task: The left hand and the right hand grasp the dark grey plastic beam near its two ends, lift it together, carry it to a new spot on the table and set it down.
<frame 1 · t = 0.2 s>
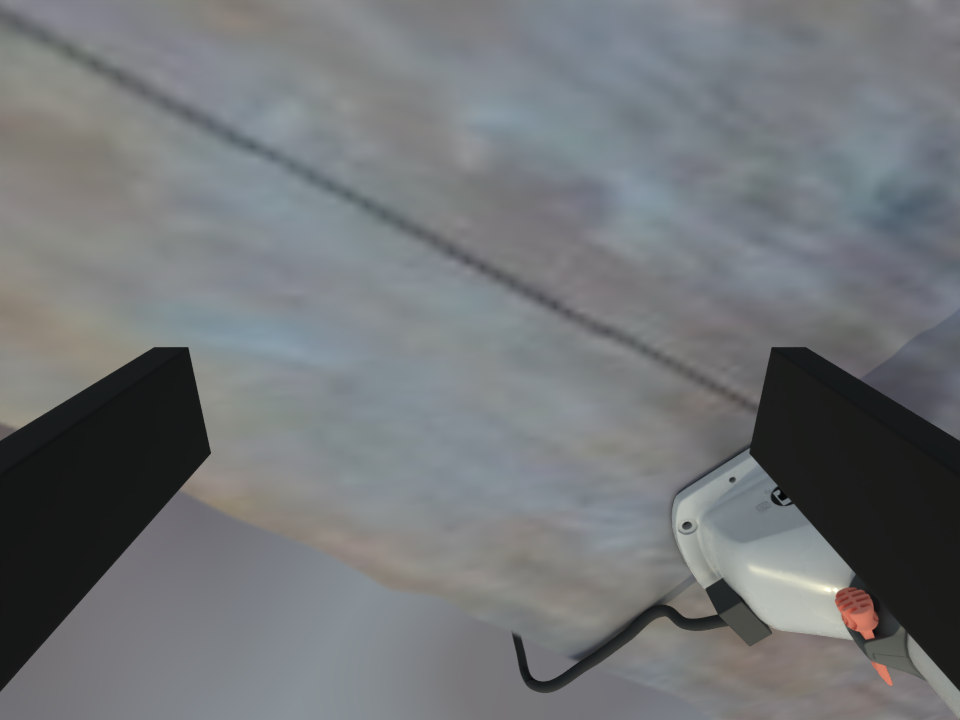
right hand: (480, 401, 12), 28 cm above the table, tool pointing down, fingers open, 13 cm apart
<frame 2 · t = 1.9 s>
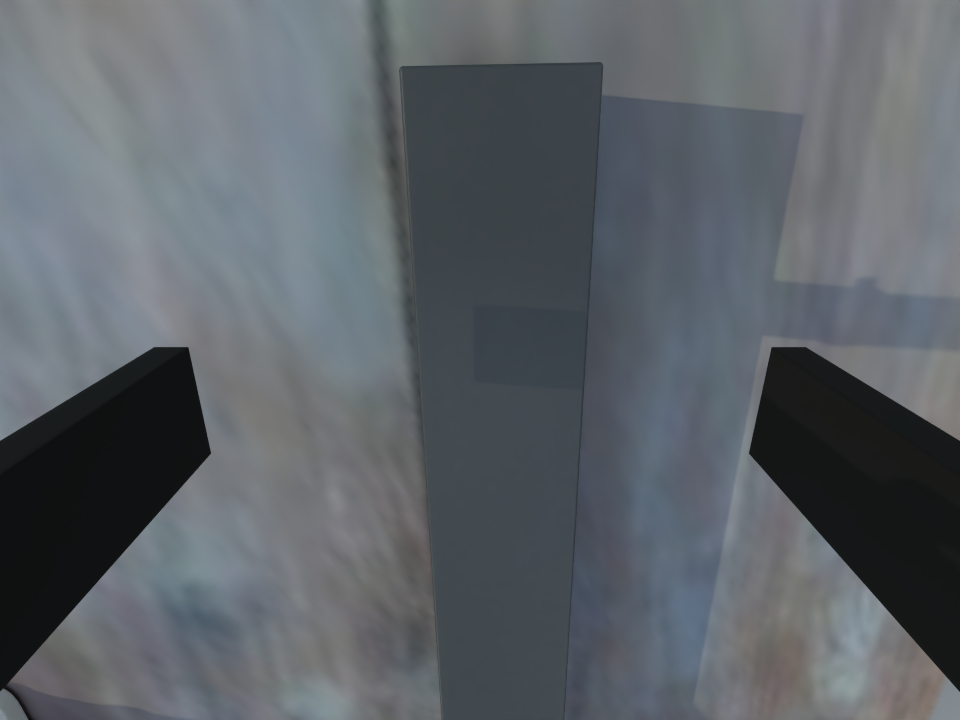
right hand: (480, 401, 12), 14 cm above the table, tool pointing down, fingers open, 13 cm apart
beam: (498, 694, 35), on the table
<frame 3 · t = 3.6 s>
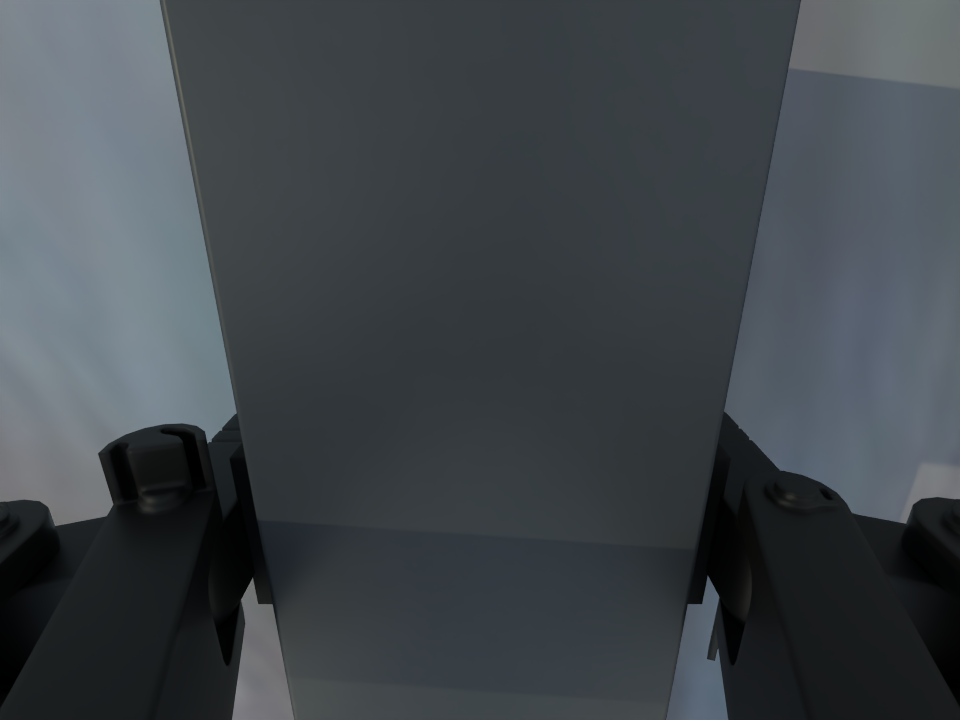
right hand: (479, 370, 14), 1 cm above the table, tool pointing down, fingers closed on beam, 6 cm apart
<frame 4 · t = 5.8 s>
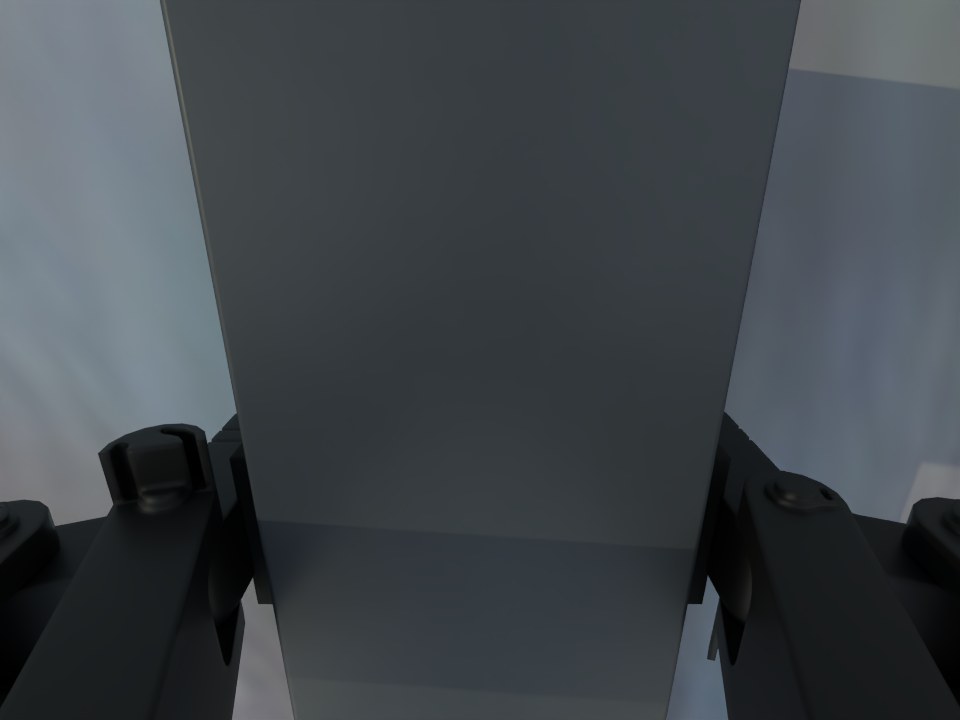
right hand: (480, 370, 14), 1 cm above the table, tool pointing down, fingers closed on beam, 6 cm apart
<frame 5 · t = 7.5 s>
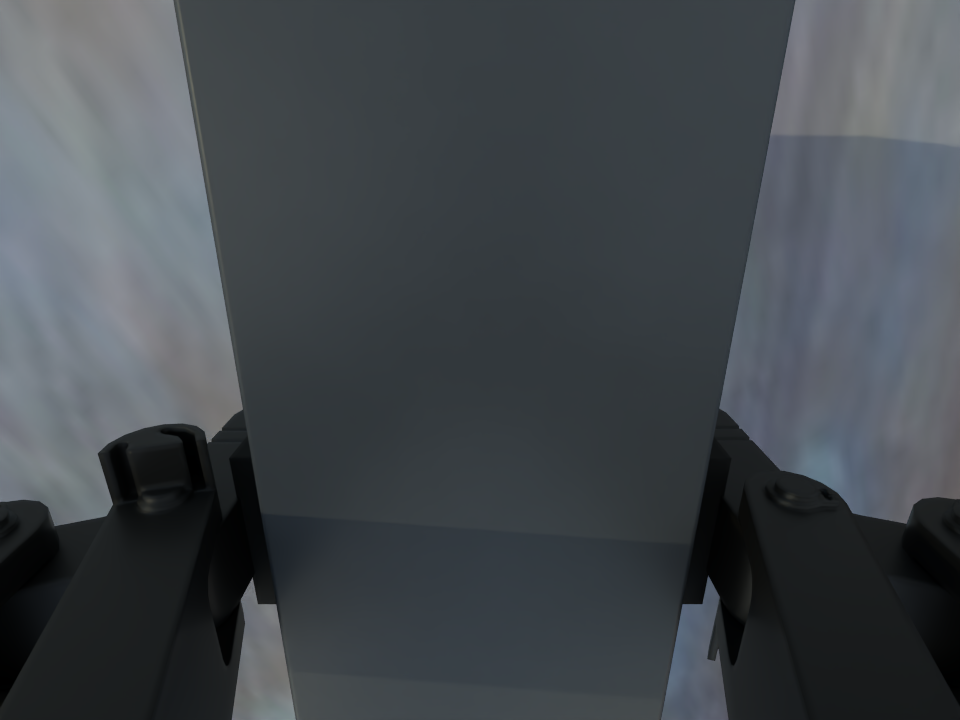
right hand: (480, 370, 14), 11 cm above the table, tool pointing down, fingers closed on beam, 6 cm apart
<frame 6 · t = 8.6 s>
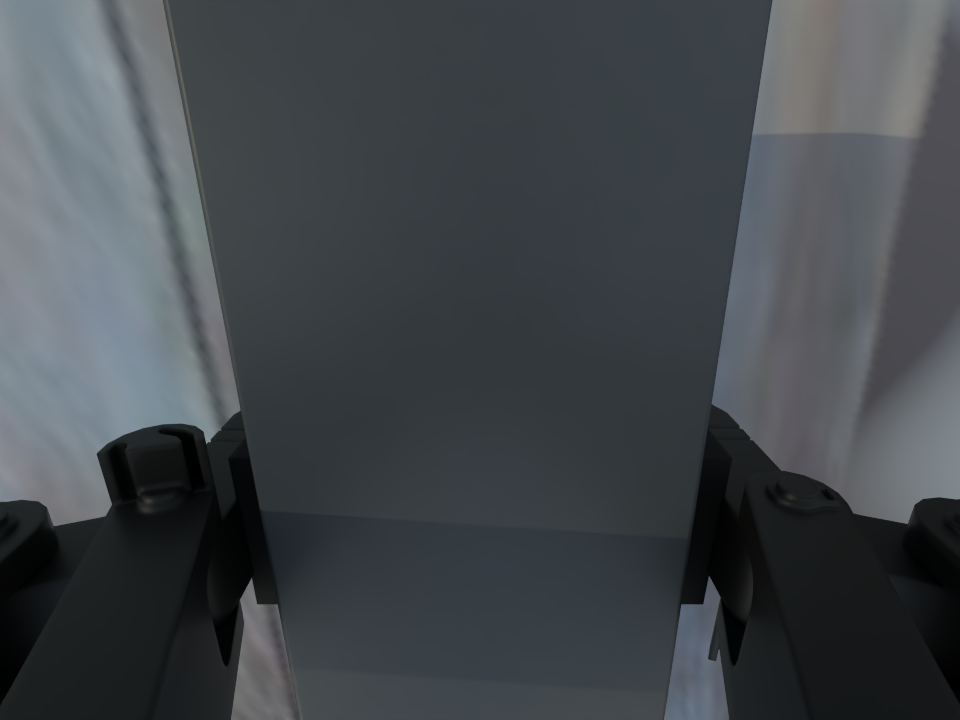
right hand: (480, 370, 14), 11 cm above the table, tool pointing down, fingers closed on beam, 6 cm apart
when the right hand's fingers open (2 cm above the table, at t = 11.3 s): beam stays where it is, on the table.
when the left hand's fingers open (4 cm above the table, at t = 11.5 s): beam stays where it is, on the table.
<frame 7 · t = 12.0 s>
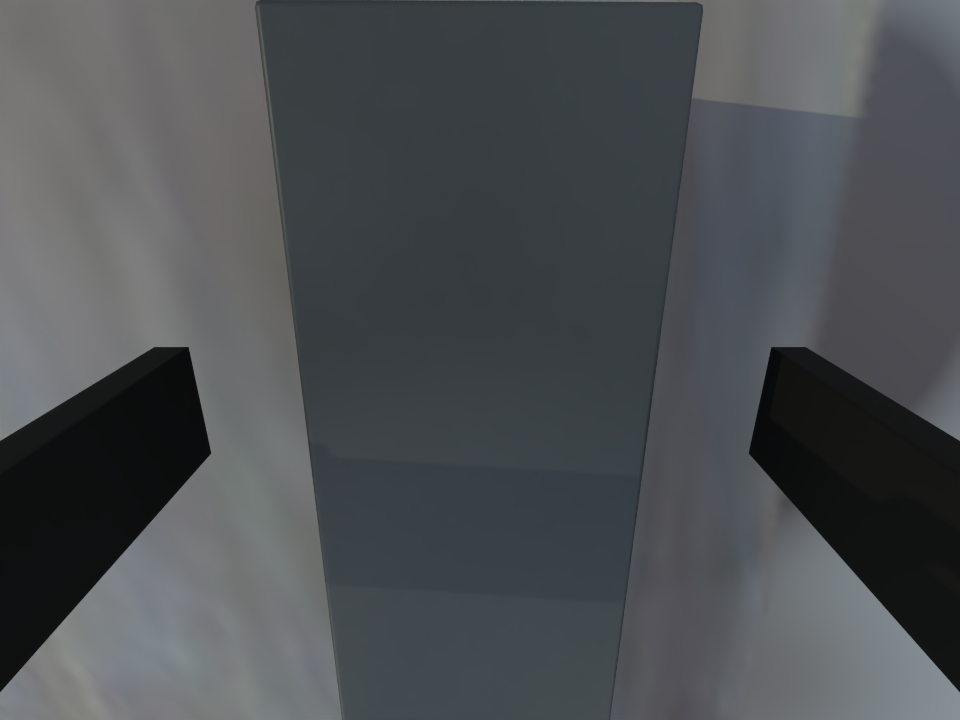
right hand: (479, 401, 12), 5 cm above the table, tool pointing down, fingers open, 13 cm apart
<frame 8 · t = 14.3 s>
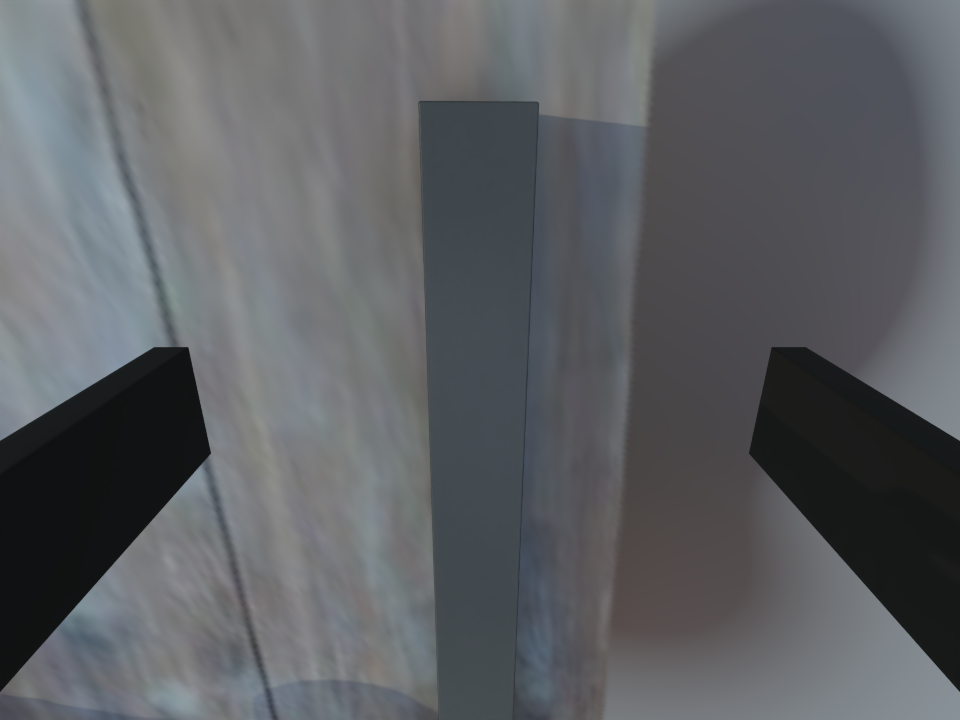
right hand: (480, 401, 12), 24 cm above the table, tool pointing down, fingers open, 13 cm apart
beam: (476, 574, 45), on the table
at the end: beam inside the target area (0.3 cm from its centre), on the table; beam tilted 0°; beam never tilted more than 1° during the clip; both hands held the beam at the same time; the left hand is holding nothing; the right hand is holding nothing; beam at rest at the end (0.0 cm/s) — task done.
